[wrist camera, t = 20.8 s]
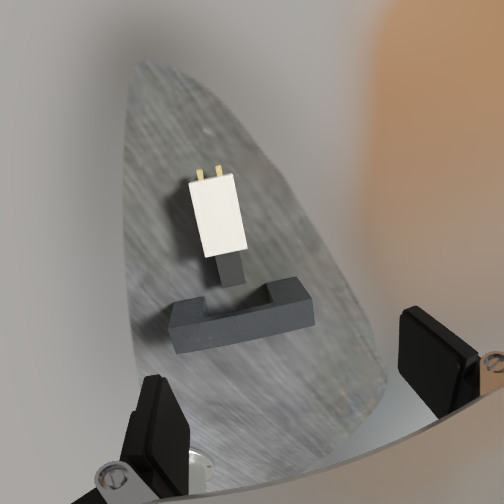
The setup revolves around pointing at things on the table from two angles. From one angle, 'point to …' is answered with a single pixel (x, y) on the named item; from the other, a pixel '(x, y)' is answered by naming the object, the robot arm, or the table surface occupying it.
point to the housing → (241, 319)
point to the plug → (220, 224)
